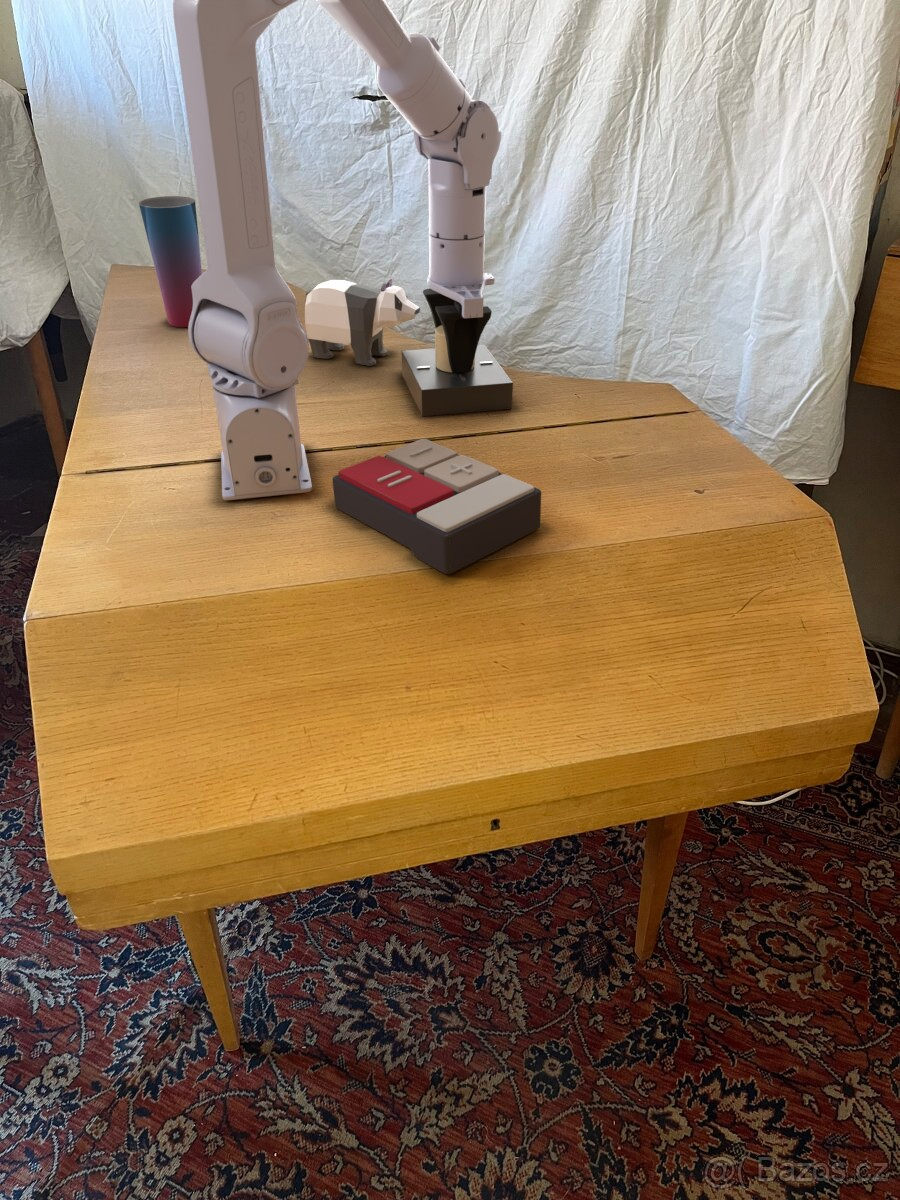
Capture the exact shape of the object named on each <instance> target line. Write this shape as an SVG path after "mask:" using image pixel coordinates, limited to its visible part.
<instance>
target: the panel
mask: <svg viewBox="0 0 900 1200" xmlns="http://www.w3.org/2000/svg"><path fill="white" fill-rule="evenodd" d="M401 376H402V378H403V380H404V383H405V384H406V386H407V389H408V390H409V392H410V394H411V397H412V398H413V400H414V403H415V404H416V407H417V409H418V411H419V413H420V415H421V417H432V416H445V415H454V414H466V413H477V412H478V413H479V412H480V413H481V412H489V411H501V410H503V411H504V410H511V409H512V408H513V391H514V390H513V389H514V382H513V381H512V379H511V378H510V377H509V375H508V374H507V373H506V371H505V370H504V369H503V367H502V366H501V365H500V363H499V362H498V361H497V359H496V357H494V355H493V354H492V353H491V352H490V349H489V348H488V347H487V346H486V344H478V346H477V349H476V354H475V366H474V368H473V369H471V371H470V372H459V373H452V372H445V371H442V370H439V369H438V368H437V367H436V366H435V348H434V347H433V348H420V349H405V350H401Z"/></svg>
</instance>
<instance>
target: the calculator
mask: <svg viewBox="0 0 900 1200" xmlns="http://www.w3.org/2000/svg"><path fill="white" fill-rule="evenodd" d="M331 482H332V491H333V499H334V507H335V508H336V509H337V510H339V511H341V512H343V513H345V514H346V515H349V516H350V517H352V518H353V519H355V520H357V521H359V522H360V523H362V524H364V525H366V526H368V527H370V528H372V529H373V530H376V531H378V532H379V533H381V534H383V535H384V536H386V537H388V538H390V539H392V540H394V541H396V542H397V543H399V544H401V545H403V546H405V547H407V548H408V549H409V550H410V551H411V553H412V554H413V555H414V557H415V558H416V559H418V560H419V561H421V562H423V563H424V564H427V565H428V566H430V567H432V568H433V569H435V570H437V571H439V572H441V573H443V574H444V575H451V574H454V573H455V572H457V571H459V570H461V569H463V568H465V567H467V566H469V565H471V564H473V563H475V562H477V561H479V560H481V559H482V558H483V559H484V557H487V556H488V555H490V554H493V553H495V552H496V551H499V550H500V549H503V548H504V547H506V546H509V545H510V544H512V543H514V542H515V541H517V540H519V539H522V538H523V537H526V536H527V535H529V534H531V533H533V532H535V531H537V530H539V529H540V527H541V516H542V515H541V514H542V513H541V511H542V490H541V489H539V488H537V487H535V486H534V485H532V484H529V483H528V482H525V481H522V480H520V479H518V478H515V477H513V476H511V475H509V474H505V473H501V472H500V471H499V469H498V468H496V467H495V466H492V465H490V464H488V463H485V462H482V461H480V460H477V459H475V458H472V457H470V456H468V455H465V454H458V452H457V451H455V450H454V449H451V448H448V447H446V446H444V445H441V444H439V443H437V442H434V441H432V440H430V439H427V438H420V439H418V440H415V441H413V442H410V443H407V444H404V445H402V446H400V447H397V448H394V449H392V450H389V451H387V452H386V453H385V456H382V455H377V456H376V455H375V456H373V457H370V458H369V459H365V460H363V461H360V462H358V463H356V464H353V465H350V466H348V467H346V468H343V469H340V470H339V471H338V474H336V475H333V476H332V478H331Z"/></svg>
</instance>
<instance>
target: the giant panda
mask: <svg viewBox="0 0 900 1200" xmlns="http://www.w3.org/2000/svg"><path fill="white" fill-rule="evenodd" d="M408 298H409V297H408V295H406V293H405V290H404V288H403V287H400V286H398V285H393V279H392V278H390V279H388V280H387V282H385V283H383V284H381V287H380V289H379V288H374V287H369V286H366V285H362V284H359V283H355V282H352V281H349V280H343V279H330V280H328V281H324V282H321V283H319V284H317V285H316V287H313V288H308V289H307V291H306V292H305V300H304V303H305V304H304V325H305V332H306V334H307V337H308V342H309V347H310V350H311V355H312V357H314V358H317V359H325V360H329V359H332V358H333V357H334V354H333V352H332V351H342V350H344V349H345V346H344V345H349V346H350V347H351V349H352V352H353V354H354V355H353V356H354V361H355V364H357V365H362V366H369V367H372V366H375V365H376V363H377V360H376V358H374V357H373V356H377V357H385V356H388V349H386V348H385V347H384V341H383V339H384V328H395V327H398V326H399V325H402V323H406V322H409V321H412V320H414V319H415V318H416V317H417V315H418V314H420V312H421V307H420V306H418V305H417V304H415V303H413V302H412V301H411V300H409V299H408ZM330 350H332V351H330Z"/></svg>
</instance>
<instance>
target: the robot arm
mask: <svg viewBox="0 0 900 1200" xmlns="http://www.w3.org/2000/svg"><path fill="white" fill-rule="evenodd" d="M299 1H300V0H173V2H172V9H173V10H172V11H173V12H172V13H173V23H174V31H175V37H176V44H177V51H178V52H177V53H178V60H179V67H180V75H181V82H182V89H183V97H184V104H185V112H186V119H187V127H188V134H189V142H190V149H191V155H192V163H193V171H194V178H195V185H196V187H195V188H196V194H197V201H198V208H199V217H200V222H201V230H202V237H203V245H204V250H205V251H204V252H205V261H206V269H205V271H203V272H202V275H201V276H200V277H199V278H198V279H197V280H196V281H195V282H194V283H193V284H192V286H191V289H192V296H193V309H192V313H191V317H190V320H189V326H188V327H187V335H188V341H189V344H190V347H191V349H192V350H193V352H194V353H195V355H196V356H197V358H199V359H200V360H201V361H202V362H204V363H206V366H207V367H206V368H207V372H208V376H209V377H210V381H211V386H212V392H213V399H214V405H215V410H216V416H217V424H218V429H219V436H220V443H221V449H222V451H220V466H221V468H220V469H221V470H220V471H221V497H222V500H224V501H234V500H235V501H236V500H244V499H245V500H246V499H255V498H263V497H265V498H266V497H272V496H273V497H275V496H285V495H294V494H306V493H310V492H312V491H313V484H312V479H311V474H310V469H309V464H308V459H307V454H306V448H305V445H304V444H303V443H302V439H301V431H300V421H299V412H298V401H297V391H296V386H297V385H299V378H300V377H301V375H302V374H303V372H304V370H305V368H306V366H307V363H308V360H309V354H310V353H309V352H310V343H309V340H308V337H307V332H306V329H305V328H304V326H303V324H302V323H301V320H300V318H299V314H298V308H297V307H298V305H297V298H296V296H295V294H294V293H293V291H292V290H291V288H290V287H289V285H288V284H287V282H286V281H285V279H284V277H283V276H282V275H281V274H280V272H279V271H278V268H277V266H276V257H275V247H274V235H273V223H272V213H271V203H270V202H271V201H270V190H269V181H268V168H267V156H266V147H265V136H264V125H263V124H264V123H263V112H262V104H261V103H262V102H261V92H260V91H261V90H260V82H259V81H260V79H259V70H258V57H257V48H256V47H257V43H258V40H259V38H260V37H261V36H262V35H263V34H264V32H265V31H266V30H267V29H268V28H269V26H270V25H271V24H272V22H274V20H275V19H276V17H277V16H278V15H279V14H280V12H281V11H283V10H285V9H287V8H288V7H290V6H292V5H293V4H295V3H297V2H299ZM314 1H316V2H317V4H319V6H320V7H321V8H323V10H325V12H326V13H327V14H328V15H329V16H330V17H331V18H332V19H333V20H334V22H336V23H337V25H338V26H340V28H342V29H343V31H344V32H345V33H346V34H347V35H348V36H349V37H350V38H351V39H352V40H353V41H354V42H355V43H356V44H357V45H358V46H359V48H361V50H362V51H363V52H364V53H365V54H366V55H367V56H368V57H369V58H370V59H371V60H372V61H373V62H374V63H375V65H376V83H377V86H378V88H379V90H380V92H381V93H382V94H383V95H384V96H385V97H386V99H387V100H388V101H389V102H390V103H391V104H392V105H393V107H394V108H395V109H396V110H397V112H398V113H399V114H400V115H401V116H402V117H403V118H404V120H405V121H406V122H407V123H408V125H409V127H410V128H411V129H412V132H413V140H414V145H415V148H416V151H417V153H418V155H419V156H421V157H423V158H425V159H426V160H427V161H428V162H427V163H428V260H429V263H428V270H429V271H428V273H429V274H428V276H427V278H426V279H427V280H426V281H427V287H428V288H425V289H423V291H422V294H423V296H424V298H425V300H426V302H427V304H428V307H429V309H430V312H431V316H432V320H433V324H434V329H435V330H436V328H437V327H439V326H441V325H442V326H443V329H444V333H445V337H446V343H447V351H448V358H449V364H450V368H451V371H452V372H453V373H459V372H470V371H471V368H472V365H473V362H474V358H475V354H476V349H477V346H478V345H479V342H480V339H481V336H482V334H483V331H485V328H486V326H487V324H488V322H489V321H490V320H491V317H492V309H491V308H490V307H489V306H488V305H485V306H484V299H485V298H484V297H483V294H484V292H485V287H486V286H493V285H494V284H495V279H496V278H495V276H494V275H493V274H492V273H490V272H489V273H488V272H485V246H486V244H485V243H486V214H487V213H486V210H487V187H488V186H489V185H490V184H491V183H490V182H491V180H492V179H493V178H492V177H493V174H492V173H493V165H494V161H495V159H496V157H497V155H498V153H499V149H500V145H501V142H502V131H500V130H499V123H498V119H497V116H496V115H495V113H494V111H492V109H491V107H490V106H489V105H488V103H486V102H484V101H482V100H478V99H473V98H472V96H471V95H470V93H469V92H468V91H467V86H466V84H465V83H464V81H463V79H462V78H458V77H457V76H456V74H455V73H454V72H453V70H452V69H451V68H450V66H449V65H448V64H447V62H446V61H445V59H444V58H443V57H442V55H441V54H440V50H441V45H440V44H439V43H438V40H436V39H435V37H432V36H426V35H425V34H423V33H421V32H411V33H407V31H406V30H405V28H404V27H403V25H402V23H401V21H399V19H398V18H397V16H396V14H395V13H394V12H393V10H392V8H391V7H390V5H389V4H388V3H387V0H314Z"/></svg>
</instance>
